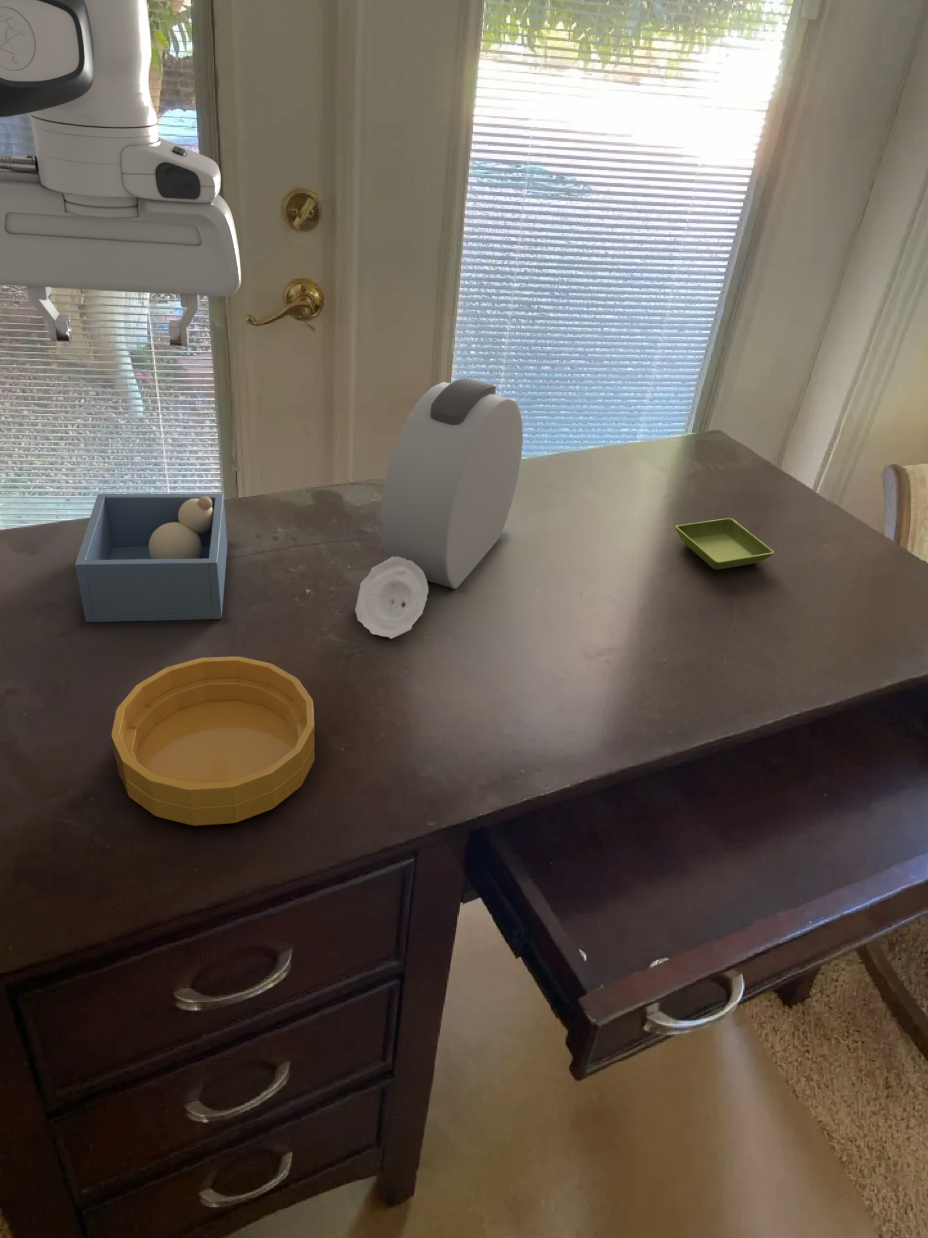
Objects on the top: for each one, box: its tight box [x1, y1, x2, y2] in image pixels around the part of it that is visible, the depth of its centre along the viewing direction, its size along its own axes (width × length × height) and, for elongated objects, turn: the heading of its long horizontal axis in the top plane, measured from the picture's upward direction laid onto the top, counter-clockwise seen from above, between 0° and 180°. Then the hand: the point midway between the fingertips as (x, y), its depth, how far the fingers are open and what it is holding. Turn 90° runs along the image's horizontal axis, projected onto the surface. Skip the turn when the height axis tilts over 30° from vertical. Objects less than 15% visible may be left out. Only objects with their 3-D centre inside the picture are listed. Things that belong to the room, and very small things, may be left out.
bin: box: [74, 493, 228, 623], centre depth 90 cm, size 13×14×7 cm
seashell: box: [354, 556, 429, 640], centre depth 89 cm, size 8×5×8 cm
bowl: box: [110, 656, 316, 827], centre depth 71 cm, size 15×15×4 cm
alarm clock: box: [379, 377, 524, 590], centre depth 96 cm, size 21×8×20 cm, turn 156°
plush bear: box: [149, 496, 214, 559], centre depth 91 cm, size 5×5×9 cm
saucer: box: [674, 517, 775, 571], centre depth 106 cm, size 9×9×2 cm
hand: (121, 341), depth 75 cm, fingers open, 8 cm apart
